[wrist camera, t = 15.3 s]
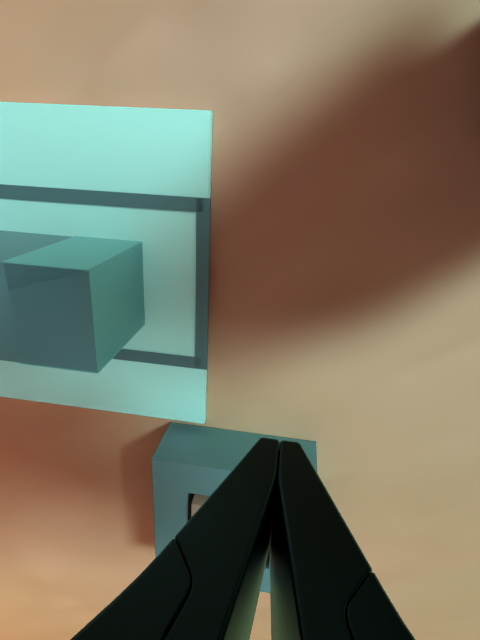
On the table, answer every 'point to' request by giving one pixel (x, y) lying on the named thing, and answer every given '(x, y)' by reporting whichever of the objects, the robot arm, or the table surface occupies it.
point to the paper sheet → (122, 224)
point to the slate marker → (68, 299)
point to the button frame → (199, 474)
